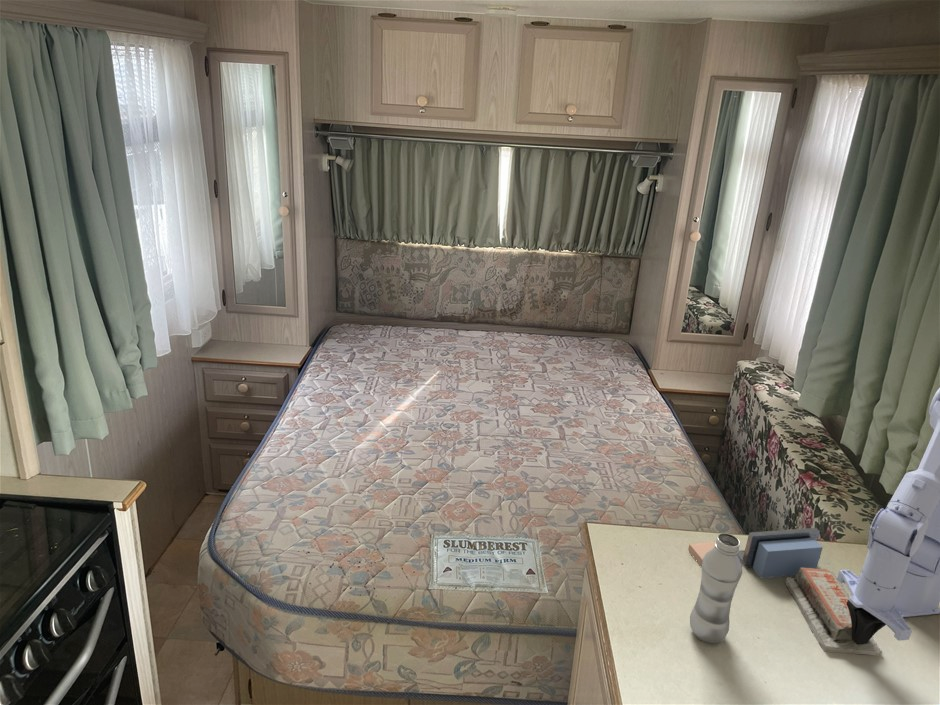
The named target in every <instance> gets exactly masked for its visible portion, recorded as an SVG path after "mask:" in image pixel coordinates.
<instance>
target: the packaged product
mask: <svg viewBox="0 0 940 705" xmlns="http://www.w3.org/2000/svg"><path fill="white" fill-rule="evenodd" d="M785 585H786V586H787V588H788V590H789V592H790V593H791V595H792V598H793V599H794V602H795V603H796V606H797V608H798V609H799V611H800V613H801V615H802V616H803V618H804V620H805V623H807V625H808V627H809V629H810V630H811V632H812V634H813V636H815V639H816V640H817V642H818V644H819V645H820V647H821V649H822V650H823V651H824V652H830V653H840V654H841V653H843V654H856V655H868V656H870V655H871V656H875V657H876V656H881V654H883V651H882V649H881V648H880V647H879V645H878V643H877V642H876V640H875V638H873V636H872V637H871V639H870V640H869V641H868V643H867V644H860V645H857V644H856V643H855V642H854V641H853V640H852V624H851V617H850V612H849V609H848V607H847V601H848V600H849V598H850V596H849V594H848V593H847V591H846V589H845V588H844V586H843V585H842V583H841V582H840V581H839V580H838V579H837V576H836V574H835V573H834V572H833V571H831V570H828V569H826V568H823V569H822V568H816V569H814V568H799V570H798V573H797V575H795V577H791V576H788V577H787V578H786V579H785Z"/></svg>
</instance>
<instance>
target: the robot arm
mask: <svg viewBox="0 0 940 705" xmlns="http://www.w3.org/2000/svg"><path fill="white" fill-rule="evenodd" d="M928 414H929V416H930V417H929V425H930V426H931V428H932V429H933V433H932V435H931V437H930V439H929V442H928V445H927V446H926V449H925V451H924V453H923V457H922V458H921V461H920V463H919V466H918V468H917V469H915V470H912V471H909V472H906V473H905V474H904V475H903V478H902V479H901V481H900V483H899V485H898V486H897V488H896V489H895V491H894V493H893V495H892V497H891V498H890V500H889V501H888V503H887V505H886V507H885V509H884V508H880V509H879V510H878V512H877V513H876V514H875V516H874V518H873V520H872V522H871V525H870V528H869V532H868V541H867V545H866V548H867V549H868V551H867V553H866V557H865V560H864V562H863V566H862V568H861V569H862V570H861V572H860V575H859V576H858V575H857V574H855V573H854V572H853V571H851V570H850V569H841V570H839V571H838V575H837V576H836V578H837V579H838V581H839V582H840V584H842V583H843V584H845V585H846V587H847V589H848V591H849V592H850V595H851V596H849V597H850V598H849V600H848V601H847V607H848V609H849V612H850V617H851V624H852V640H853V641H854V642H855V643H856V644H857V645H860V644H867V643H868V641H869V640H870V639H871V637H873V636H874V635H875V634H877V632H878V631H879V630H881V629H882V628H884V627H885V626H887V628H889V630H891V631H892V632H893V633H894V638H895V640H897V641H907V640H910V637H911V636H912V633H913V629H912V628H911V627H910V626H909V625H908V624H907V622H906V620H905V619H904V618H908V617H918V616H929V615H937V614H940V608H939V605H940V387H939V388H938V389H937V390H936V391H935V394H934V395H933V397H932V399H931V402H930V405H929V408H928Z"/></svg>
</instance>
